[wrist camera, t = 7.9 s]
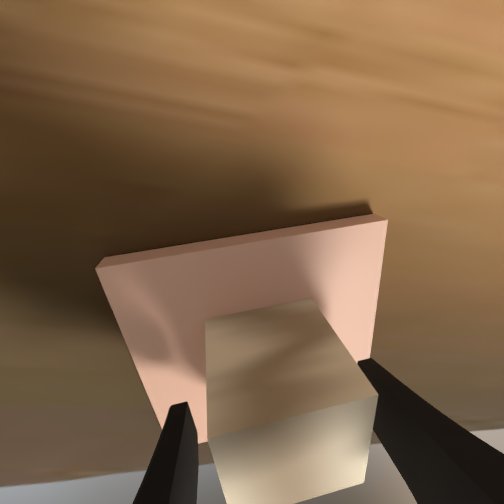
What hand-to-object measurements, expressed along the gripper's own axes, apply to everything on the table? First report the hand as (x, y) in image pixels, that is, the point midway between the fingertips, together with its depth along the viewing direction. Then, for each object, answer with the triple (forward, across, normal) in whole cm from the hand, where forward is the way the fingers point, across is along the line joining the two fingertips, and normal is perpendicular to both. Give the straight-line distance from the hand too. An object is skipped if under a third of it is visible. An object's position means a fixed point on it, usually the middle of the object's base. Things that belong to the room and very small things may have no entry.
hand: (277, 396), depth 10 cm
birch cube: (+2, 0, 0) cm, 3 cm away
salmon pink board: (+3, 0, 0) cm, 3 cm away
